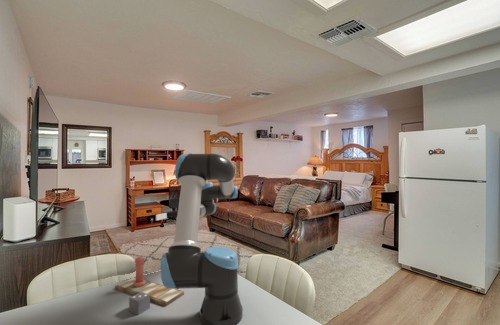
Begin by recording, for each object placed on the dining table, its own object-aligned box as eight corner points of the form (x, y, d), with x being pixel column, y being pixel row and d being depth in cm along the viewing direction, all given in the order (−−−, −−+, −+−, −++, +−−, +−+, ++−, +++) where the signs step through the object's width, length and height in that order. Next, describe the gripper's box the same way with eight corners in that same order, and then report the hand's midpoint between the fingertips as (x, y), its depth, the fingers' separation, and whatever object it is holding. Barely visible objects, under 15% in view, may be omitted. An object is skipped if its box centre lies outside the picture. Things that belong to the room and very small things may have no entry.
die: (149, 308, 94) (149, 294, 95) (138, 315, 90) (138, 301, 90) (140, 304, 97) (140, 291, 97) (129, 311, 92) (129, 297, 92)
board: (184, 294, 104) (184, 291, 104) (165, 306, 95) (165, 302, 95) (135, 279, 118) (135, 276, 118) (115, 288, 109) (115, 285, 109)
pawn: (147, 284, 111) (148, 255, 111) (138, 288, 106) (138, 259, 107) (140, 281, 113) (140, 254, 113) (130, 285, 109) (131, 257, 109)
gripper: (214, 220, 133) (186, 230, 114) (178, 216, 144) (148, 224, 126) (214, 206, 133) (186, 213, 114) (178, 203, 145) (148, 209, 126)
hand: (166, 219), depth 120 cm, fingers open, 13 cm apart
